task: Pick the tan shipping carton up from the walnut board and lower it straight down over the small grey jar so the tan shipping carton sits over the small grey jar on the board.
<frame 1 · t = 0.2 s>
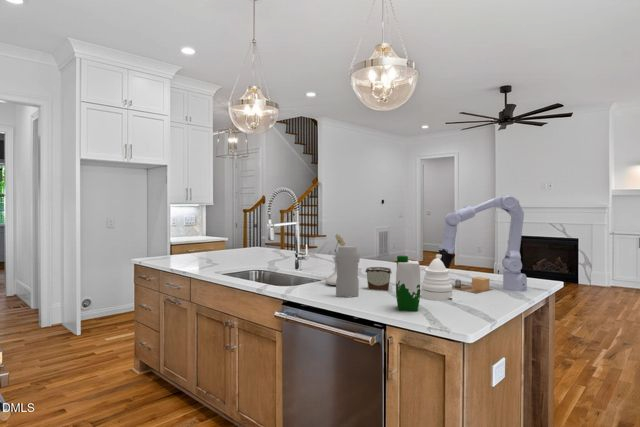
hand: (444, 266, 189), 10 cm above the worktop, tool pointing down, fingers open, 7 cm apart
tan shipping carton: (480, 289, 183), point 1 cm above the worktop, touching board
food container: (379, 289, 188), on the worktop
milk carton: (407, 309, 153), on the worktop
tall pale column: (347, 296, 173), on the worktop
honey pot: (436, 297, 172), on the worktop
board: (468, 291, 184), on the worktop
flower in vase: (337, 284, 198), on the worktop
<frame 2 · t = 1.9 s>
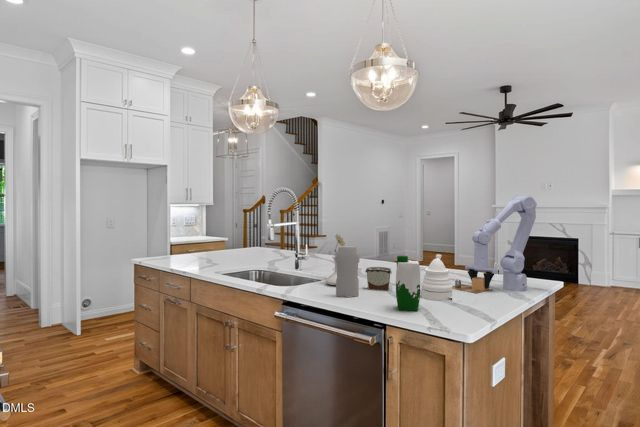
hand: (480, 287, 183), 2 cm above the worktop, tool pointing down, fingers closed on tan shipping carton, 5 cm apart
tan shipping carton: (480, 289, 183), point 1 cm above the worktop, touching board, gripper
everything else where it was.
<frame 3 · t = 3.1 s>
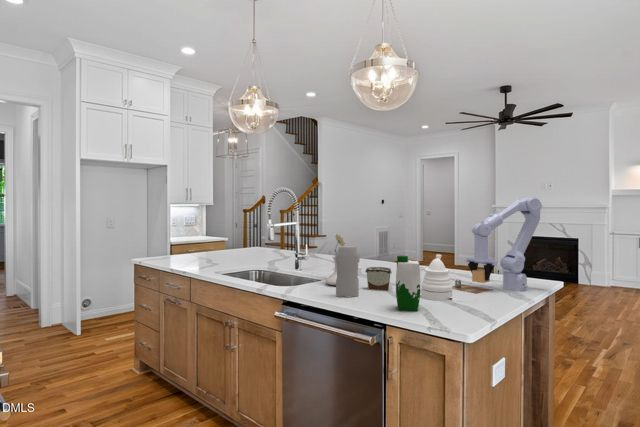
hand: (480, 279, 183), 6 cm above the worktop, tool pointing down, fingers closed on tan shipping carton, 5 cm apart
tan shipping carton: (480, 281, 183), point 5 cm above the worktop, touching gripper
everything else where it was.
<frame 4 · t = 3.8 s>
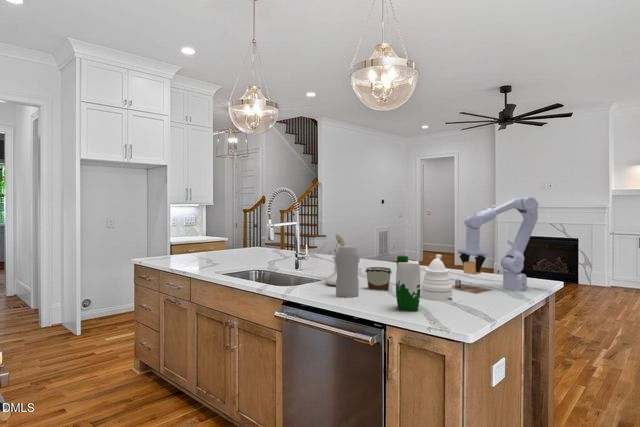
hand: (472, 271, 184), 9 cm above the worktop, tool pointing down, fingers closed on tan shipping carton, 5 cm apart
tan shipping carton: (472, 273, 184), point 8 cm above the worktop, touching gripper
everything else where it was.
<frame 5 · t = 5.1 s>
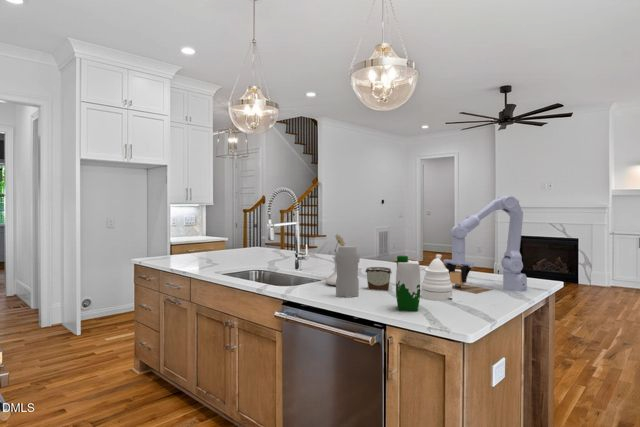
hand: (458, 281, 186), 4 cm above the worktop, tool pointing down, fingers closed on tan shipping carton, 5 cm apart
tan shipping carton: (458, 282, 186), point 3 cm above the worktop, touching gripper
everything else where it was.
when the fingers open (3 cm above the worktop, at t = 5.9 s): tan shipping carton drops 1 cm, resting on board.
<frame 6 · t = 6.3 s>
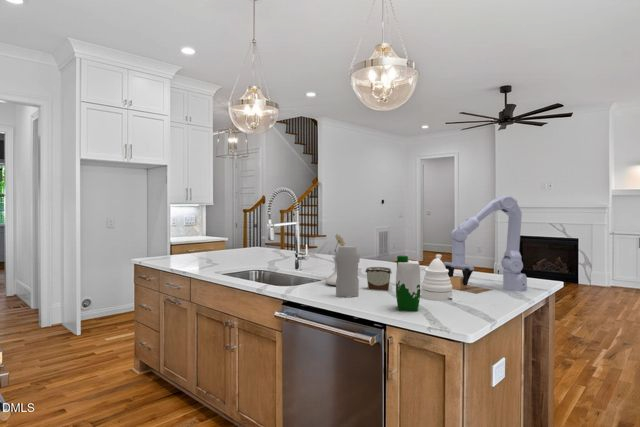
hand: (458, 283, 186), 3 cm above the worktop, tool pointing down, fingers open, 7 cm apart
tan shipping carton: (458, 287, 186), point 1 cm above the worktop, touching board
everything else where it was.
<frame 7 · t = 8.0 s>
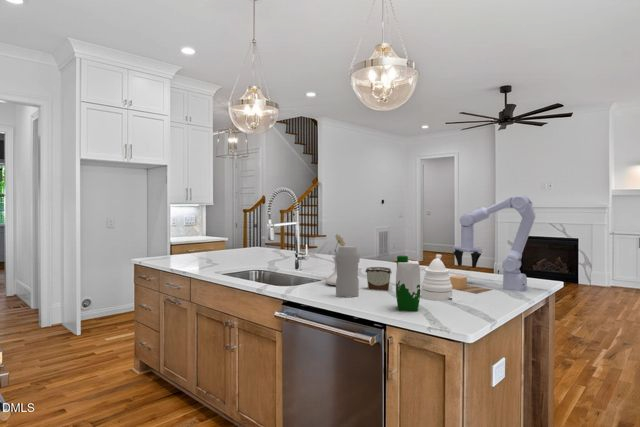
hand: (466, 266, 196), 9 cm above the worktop, tool pointing down, fingers open, 7 cm apart
nothing on the worktop moved.
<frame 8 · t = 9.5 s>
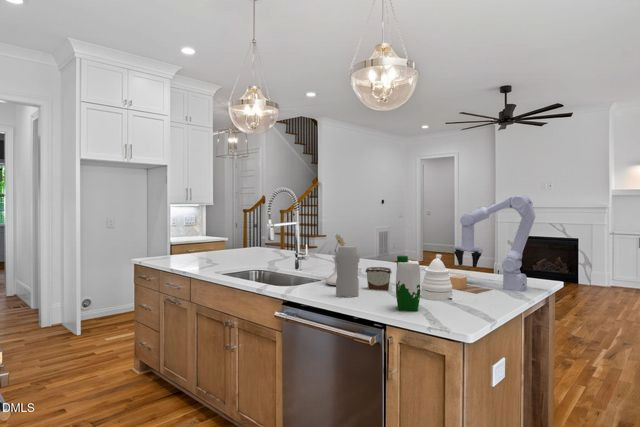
hand: (467, 266, 197), 9 cm above the worktop, tool pointing down, fingers open, 7 cm apart
nothing on the worktop moved.
at the end: tan shipping carton 0.0 cm from the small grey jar (horizontally); tan shipping carton point 1.2 cm above the worktop; tan shipping carton tilted 0° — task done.
